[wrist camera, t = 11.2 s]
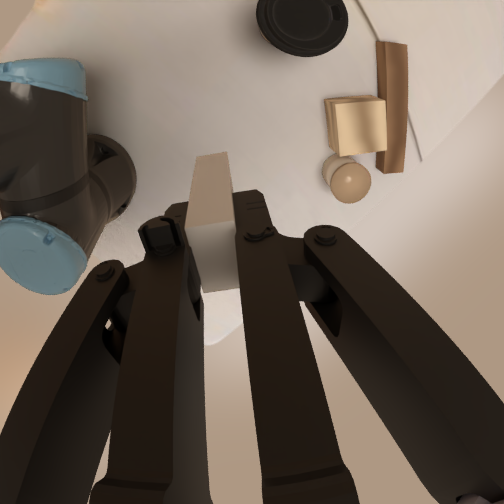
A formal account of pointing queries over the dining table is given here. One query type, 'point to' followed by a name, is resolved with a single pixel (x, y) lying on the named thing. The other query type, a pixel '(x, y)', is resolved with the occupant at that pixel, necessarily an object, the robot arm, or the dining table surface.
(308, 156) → the dining table surface
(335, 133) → the block
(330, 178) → the sugar pot
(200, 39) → the dining table surface
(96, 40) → the dining table surface
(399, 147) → the board
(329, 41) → the coffee cup
